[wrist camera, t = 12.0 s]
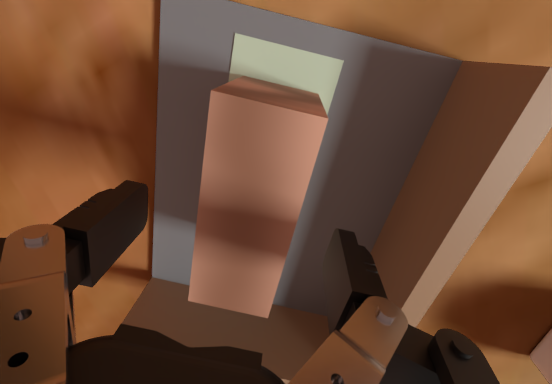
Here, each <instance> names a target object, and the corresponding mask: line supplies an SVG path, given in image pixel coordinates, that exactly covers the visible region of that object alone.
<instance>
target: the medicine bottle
mask: <svg viewBox="0 0 552 384" xmlns="http://www.w3.org/2000/svg"><path fill="white" fill-rule="evenodd" d="M530 358H531V360H532V361H533V363H534V364H535V365H536V367H537V368H538V369H539V371H540V372H541V373H542V375H543V376H544V377H545V379H546V380H547V381H548V383H549V384H552V328H551V330H550V331H549V332H548V333H547V334H546V336H545V337H544V338H543V339H542V340H541V342H540V343H539V344H538V345H537V346H536V348H535V349H534V350H533V351H532V352H531V354H530Z"/></svg>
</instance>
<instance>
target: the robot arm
mask: <svg viewBox="0 0 552 384" xmlns="http://www.w3.org/2000/svg"><path fill="white" fill-rule="evenodd" d="M147 216H148V187H147V185H146V184H143V183H138V182H134V181H129V180H126V181H124V182H123V183H122V184H120V185H119V186H118V187H116V188H115V189H108V190H105V191H102V192H99V193H97V194H95V195H94V196H92V197H91V198H90V199H88V201H85V202H84V203H82V204H81V205H80V207H77V208H75V209H74V210H72V211H71V212H69V213H68V214H67V215H65V216H64V217H62V218H61V219H59V220H58V221H57V222H55V223H54V224H52V225H50V224H38V225H32V226H27V227H24V228H21V229H19V230H17V231H15V232H13V233H12V234H10V235H9V236H8V237H7V238H0V384H285V383H284V382H283V381H282V380H281V379H280V378H279V377H278V376H277V375H276V374H275V373H273V372H272V371H270V370H269V369H267V368H266V367H264V366H262V365H261V363H262V355H263V353H259V352H255V351H250V350H245V349H240V348H236V347H231V346H216V347H187V346H185V345H183V344H181V343H179V342H177V341H175V340H173V339H171V338H169V337H167V336H165V335H163V334H162V333H160V332H158V331H155V330H150V329H145V328H140V327H136V326H131V325H126V324H120V326H119V327H118V329H117V331H116V332H115V334H114V335H108V336H101V337H96V338H92V339H88V340H85V341H82V342H79V343H76V333H75V314H74V296H73V290H74V289H75V288H76V287H77V286H78V285H84V286H88V287H93V286H94V285H95V284H96V283H97V282H98V280H99V279H100V278H101V277H102V276H103V275H104V274H105V272H106V271H107V270H108V269H109V268H110V267H111V266H112V265H113V263H114V262H115V261H116V260H117V259H118V258H119V257H120V255H121V254H122V253H123V252H124V251H125V250H126V249H127V247H128V246H129V245H130V244H131V243H132V242H133V241H134V240H135V238H136V237H137V236H138V235H139V234H140V233H141V232H142V230H143V229H144V227H145V225H146V222H147ZM322 272H323V281H324V290H325V299H326V308H327V318H328V327H329V337H328V338H327V339H326V340H325V342H324V343H323V344H322V345H321V346H320V347H319V348H318V350H317V351H316V352H315V353H314V354H313V355H312V356H311V358H310V359H309V360H308V361H307V362H306V363H305V365H304V366H303V367H302V368H301V369H300V370H299V371H298V373H297V374H296V375H295V376H294V377H293V378H292V379H291V381H290V382H289V383H288V384H500V383H499V381H498V380H497V378H496V376H495V374H494V372H493V371H492V369H491V367H490V365H489V363H488V362H487V360H486V358H485V356H484V355H483V353H482V352H481V350H480V349H479V348H478V347H477V346H476V345H475V344H474V343H473V342H472V341H471V340H470V339H468V338H467V337H466V336H464V335H463V334H461V333H459V332H457V331H454V330H451V329H440V330H438V331H437V333H436V334H435V336H432V335H430V334H428V333H425V332H423V331H421V330H419V329H417V328H415V327H413V326H411V325H409V324H408V320H407V318H406V316H405V314H404V313H403V311H402V310H401V309H400V308H399V307H398V306H397V305H396V304H394V303H393V302H391V301H390V300H388V298H387V295H386V292H385V290H384V287H383V284H382V281H381V279H380V276H379V274H378V270H377V268H376V266H375V262H374V259H373V257H372V255H371V254H370V252H369V251H368V250H367V249H366V248H365V246H361V245H358V242H357V239H356V235H355V233H354V232H352V231H348V230H344V229H339V228H336V229H335V230H334V232H333V235H332V238H331V240H330V243H329V246H328V248H327V251H326V254H325V256H324V260H323V266H322Z"/></svg>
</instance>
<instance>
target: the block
mask: <svg viewBox="0 0 552 384" xmlns="http://www.w3.org/2000/svg"><path fill="white" fill-rule="evenodd" d="M327 122H328V116H327V114H326V111H325V109H324V106H323V104H322V102H321V99H320V97H319V94H317V93H313V92H309V91H305V90H301V89H297V88H292V87H288V86H284V85H280V84H276V83H272V82H268V81H264V80H260V79H256V78H251V77H247V76H241V77H239V78H237V79H235V80H232V81H230V82H228V83H226V84H224V85H221V86H219V87H217V88H215V89H213V90H211V94H210V103H209V112H208V122H207V131H206V140H205V149H204V158H203V167H202V177H201V186H200V195H199V204H198V213H197V223H196V232H195V241H194V250H193V259H192V269H191V278H190V287H189V296H188V301H191V302H196V303H200V304H205V305H209V306H214V307H218V308H223V309H228V310H232V311H237V312H241V313H246V314H251V315H255V316H260V317H264V318H268V316H269V313H270V310H271V306H272V303H273V300H274V297H275V293H276V290H277V287H278V283H279V280H280V277H281V273H282V270H283V267H284V264H285V260H286V257H287V254H288V250H289V247H290V244H291V241H292V237H293V234H294V231H295V227H296V224H297V221H298V218H299V214H300V211H301V208H302V204H303V201H304V198H305V194H306V191H307V188H308V185H309V181H310V178H311V175H312V171H313V168H314V165H315V162H316V158H317V155H318V152H319V148H320V145H321V142H322V138H323V135H324V132H325V129H326V125H327Z"/></svg>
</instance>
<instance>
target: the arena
mask: <svg viewBox="0 0 552 384" xmlns="http://www.w3.org/2000/svg"><path fill="white" fill-rule="evenodd" d="M241 76H247V77H251V78H256V79H260V80H264V81H268V82H272V83H276V84H280V85H284V86H288V87H292V88H297V89H301V90H305V91H309V92H313V93H317V94H319V97H320V99H321V102H322V104H323V106H324V109H325V111H326V114H327V116H328V122H327V125H326V129H325V132H324V135H323V138H322V142H321V145H320V148H319V152H318V155H317V158H316V162H315V165H314V168H313V171H312V175H311V178H310V181H309V185H308V188H307V191H306V194H305V198H304V201H303V204H302V208H301V211H300V214H299V218H298V221H297V224H296V227H295V231H294V234H293V237H292V241H291V244H290V247H289V250H288V254H287V257H286V260H285V264H284V267H283V270H282V273H281V277H280V280H279V283H278V287H277V290H276V293H275V297H274V300H273V303H272V306H271V310H270V313H269V316H268V318H264V317H260V316H255V315H251V314H246V313H241V312H237V311H232V310H228V309H223V308H218V307H214V306H209V305H205V304H200V303H196V302H191V301H188V296H189V287H190V278H191V269H192V259H193V250H194V241H195V232H196V223H197V213H198V204H199V195H200V186H201V177H202V167H203V158H204V149H205V140H206V131H207V122H208V112H209V103H210V94H211V90H213V89H215V88H217V87H219V86H221V85H224V84H226V83H228V82H230V81H232V80H235V79H237V78H239V77H241ZM551 127H552V67H544V66H529V65H514V64H500V63H485V62H471V61H461V60H457V59H453V58H449V57H446V56H442V55H438V54H434V53H430V52H426V51H422V50H418V49H414V48H411V47H407V46H403V45H399V44H395V43H391V42H387V41H383V40H380V39H376V38H372V37H368V36H364V35H360V34H356V33H352V32H349V31H345V30H341V29H337V28H333V27H329V26H325V25H321V24H317V23H314V22H310V21H306V20H302V19H298V18H294V17H290V16H286V15H283V14H279V13H275V12H271V11H267V10H263V9H259V8H255V7H252V6H248V5H244V4H240V3H236V2H232V1H228V0H161V8H160V39H159V71H158V102H157V134H156V166H155V197H154V229H153V260H152V278H151V279H150V281H149V282H148V284H147V286H146V287H145V289H144V290H143V292H142V293H141V295H140V296H139V298H138V299H137V301H136V302H135V304H134V305H133V307H132V309H131V310H130V312H129V313H128V315H127V316H126V318H125V319H124V321H123V322H122V324H126V325H131V326H136V327H140V328H145V329H150V330H155V331H158V332H160V333H162V334H163V335H165V336H167V337H169V338H171V339H173V340H175V341H177V342H179V343H181V344H183V345H185V346H187V347H216V346H231V347H236V348H240V349H245V350H250V351H255V352H259V353H263V355H262V363H261V365H262V366H264V367H266V368H267V369H269V370H270V371H272V372H273V373H275V374H276V375H277V376H278V377H279V378H280V379H281V380H282V381H283V382H284V383H285V384H288V383H289V382H290V381H291V379H292V378H293V377H294V376H295V375H296V374H297V373H298V371H299V370H300V369H301V368H302V367H303V366H304V365H305V363H306V362H307V361H308V360H309V359H310V358H311V356H312V355H313V354H314V353H315V352H316V351H317V350H318V348H319V347H320V346H321V345H322V344H323V343H324V342H325V340H326V339H327V338H328V337H329V327H328V318H327V308H326V299H325V290H324V281H323V272H322V266H323V260H324V256H325V254H326V251H327V248H328V246H329V243H330V240H331V238H332V235H333V232H334V230H335V229H336V228H339V229H344V230H348V231H352V232H354V233H355V235H356V239H357V242H358V245H361V246H365V248H366V249H367V250H368V251H369V252H370V254H371V255H372V257H373V259H374V262H375V266H376V268H377V270H378V274H379V276H380V279H381V281H382V284H383V287H384V290H385V292H386V295H387V298H388V300H390V301H391V302H393V303H394V304H396V305H397V306H398V307H399V308H400V309H401V310H402V311H403V313H404V314H405V316H406V318H407V320H408V324H409V325H411V326H413V327H415V328H416V326H417V325H418V323H419V322H420V320H421V319H422V317H423V316H424V315H425V313H426V312H427V310H428V309H429V307H430V306H431V304H432V303H433V301H434V300H435V298H436V297H437V295H438V294H439V292H440V291H441V289H442V288H443V287H444V285H445V284H446V282H447V281H448V279H449V278H450V276H451V275H452V273H453V272H454V270H455V269H456V267H457V266H458V264H459V263H460V261H461V260H462V259H463V257H464V256H465V254H466V253H467V251H468V250H469V248H470V247H471V245H472V244H473V242H474V241H475V239H476V238H477V236H478V235H479V233H480V232H481V231H482V229H483V228H484V226H485V225H486V223H487V222H488V220H489V219H490V217H491V216H492V214H493V213H494V211H495V210H496V208H497V207H498V205H499V204H500V203H501V201H502V200H503V198H504V197H505V195H506V194H507V192H508V191H509V189H510V188H511V186H512V185H513V183H514V182H515V180H516V179H517V177H518V176H519V175H520V173H521V172H522V170H523V169H524V167H525V166H526V164H527V163H528V161H529V160H530V158H531V157H532V155H533V154H534V152H535V151H536V149H537V148H538V147H539V145H540V144H541V142H542V141H543V139H544V138H545V136H546V135H547V133H548V132H549V130H550V129H551Z"/></svg>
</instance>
